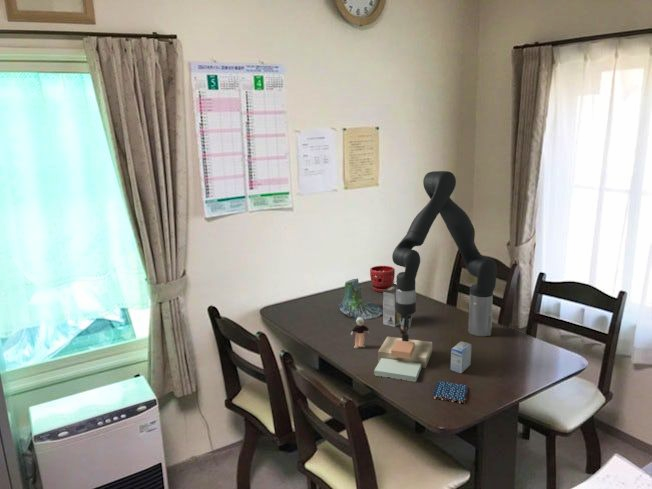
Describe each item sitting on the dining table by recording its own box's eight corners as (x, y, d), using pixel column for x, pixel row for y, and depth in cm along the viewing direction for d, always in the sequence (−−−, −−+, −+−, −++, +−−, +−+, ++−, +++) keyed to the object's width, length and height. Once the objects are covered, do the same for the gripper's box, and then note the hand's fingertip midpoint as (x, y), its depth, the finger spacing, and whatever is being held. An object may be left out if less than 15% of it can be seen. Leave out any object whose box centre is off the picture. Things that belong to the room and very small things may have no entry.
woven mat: (465, 406, 157) (465, 400, 157) (432, 400, 161) (432, 394, 161) (469, 390, 167) (469, 384, 166) (437, 384, 171) (437, 379, 170)
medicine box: (459, 362, 185) (460, 340, 183) (470, 365, 182) (471, 343, 180) (450, 370, 179) (450, 348, 177) (461, 374, 176) (462, 351, 174)
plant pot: (399, 290, 265) (399, 268, 262) (379, 295, 259) (379, 273, 256) (385, 284, 276) (384, 263, 273) (365, 288, 270) (365, 267, 267)
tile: (414, 348, 188) (414, 342, 188) (410, 359, 180) (410, 352, 179) (396, 346, 191) (396, 340, 190) (391, 356, 182) (391, 350, 182)
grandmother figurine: (353, 350, 198) (352, 320, 195) (350, 346, 201) (349, 316, 198) (371, 347, 200) (371, 317, 196) (368, 343, 203) (367, 314, 200)
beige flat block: (432, 351, 194) (432, 342, 193) (425, 368, 181) (425, 358, 180) (387, 345, 200) (387, 336, 199) (378, 361, 188) (378, 351, 187)
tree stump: (371, 324, 223) (361, 285, 220) (334, 326, 235) (323, 289, 233) (390, 308, 238) (380, 271, 235) (354, 311, 250) (344, 276, 248)
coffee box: (392, 317, 229) (392, 284, 225) (405, 320, 225) (405, 287, 221) (382, 324, 222) (382, 290, 218) (395, 327, 218) (395, 292, 214)
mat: (421, 368, 181) (421, 363, 180) (415, 381, 172) (415, 376, 171) (381, 362, 186) (381, 358, 186) (374, 375, 177) (374, 370, 177)
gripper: (412, 307, 179) (411, 350, 183) (419, 295, 191) (418, 336, 195) (391, 304, 182) (391, 348, 186) (400, 293, 194) (399, 334, 198)
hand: (405, 342), depth 190 cm, fingers closed
